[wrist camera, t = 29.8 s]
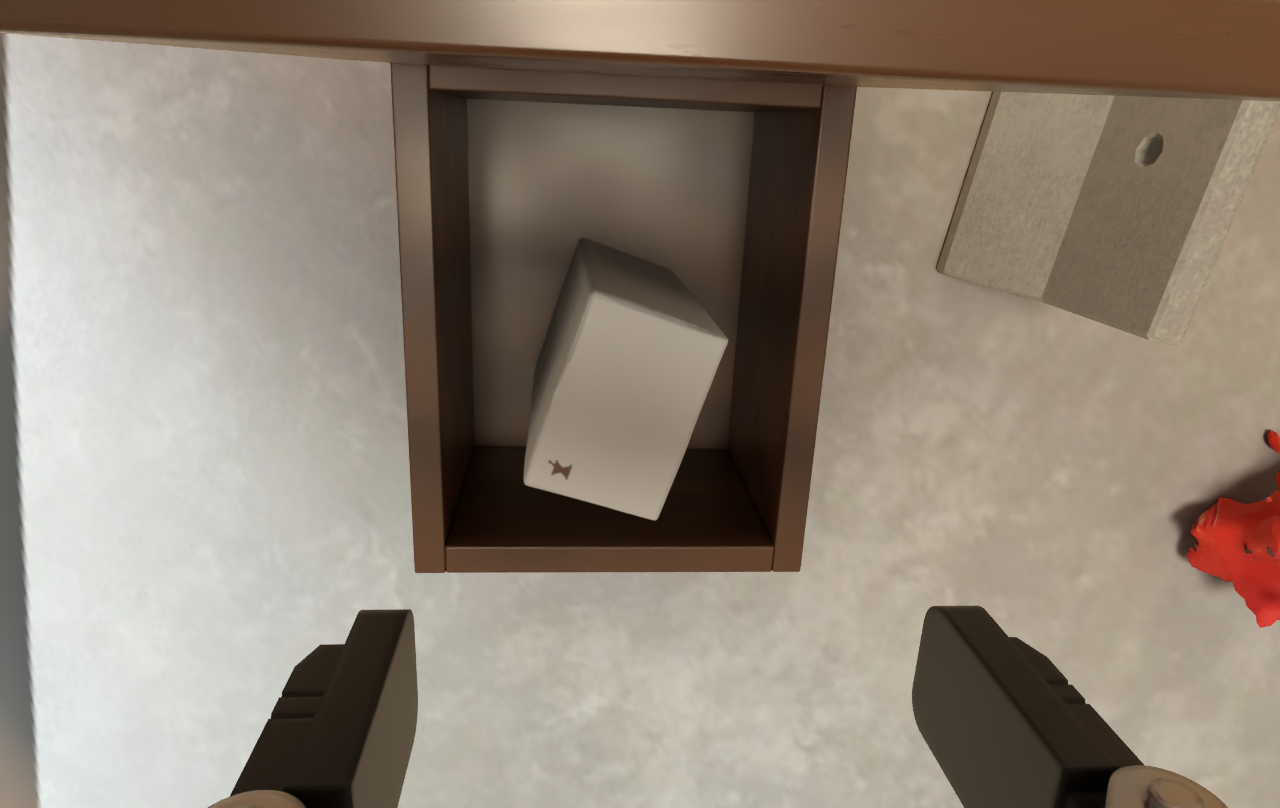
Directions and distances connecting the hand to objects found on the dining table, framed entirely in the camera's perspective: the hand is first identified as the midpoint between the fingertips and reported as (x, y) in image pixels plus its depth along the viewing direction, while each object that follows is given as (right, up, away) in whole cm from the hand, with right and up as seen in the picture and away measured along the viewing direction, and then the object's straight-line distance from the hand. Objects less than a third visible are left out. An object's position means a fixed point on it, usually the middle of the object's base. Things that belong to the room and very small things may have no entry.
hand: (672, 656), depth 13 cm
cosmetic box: (-2, +7, +22) cm, 23 cm away
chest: (-2, +9, +22) cm, 24 cm away
